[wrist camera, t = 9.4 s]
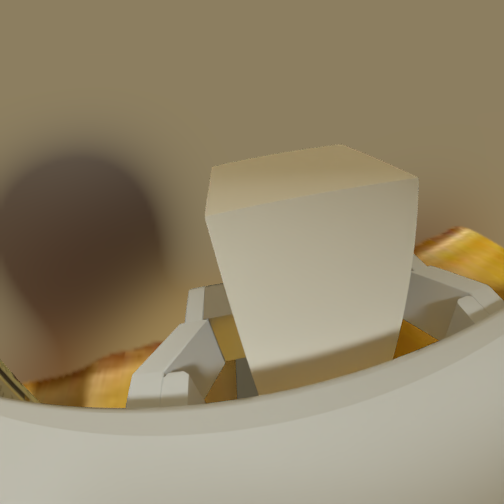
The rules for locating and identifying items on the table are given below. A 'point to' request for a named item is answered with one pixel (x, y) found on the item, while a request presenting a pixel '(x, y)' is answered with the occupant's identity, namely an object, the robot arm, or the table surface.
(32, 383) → the table surface
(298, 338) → the cream block
